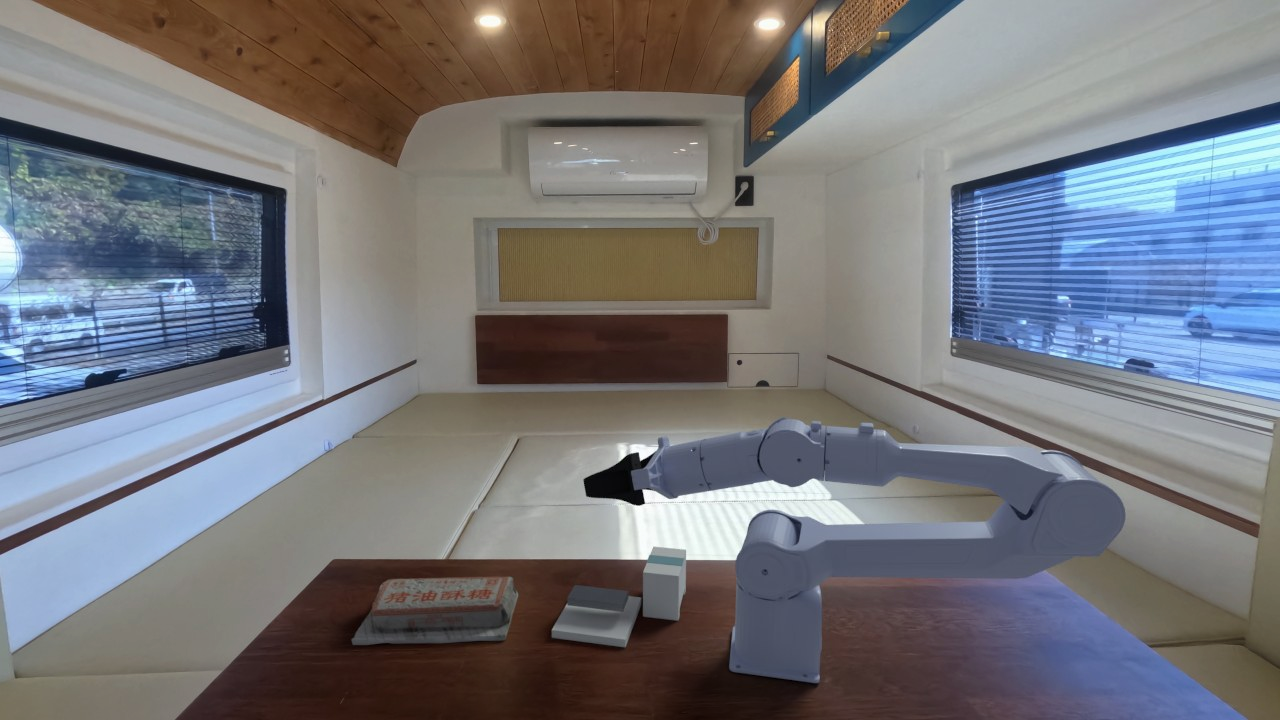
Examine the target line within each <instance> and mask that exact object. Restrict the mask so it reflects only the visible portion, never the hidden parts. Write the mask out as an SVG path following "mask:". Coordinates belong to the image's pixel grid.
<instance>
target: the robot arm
mask: <svg viewBox="0 0 1280 720" xmlns="http://www.w3.org/2000/svg"><path fill="white" fill-rule="evenodd" d="M874 427H875V426H874V423H873V422H860V423H859V427H847V426H833V425H822V421H820V420H812V421H811V422H810V425H808V424H805V423H804V421H801V420H799V419H793V418H787V417H786V416H783V417H780V418H778V419H776V420H774V421H773V422H772V423H771V424H770V425H769V426H768V427H767V428H762V429H756V430H754V429H753V430H750V431H741V432H735V433H729V434H726V435H725V434H724V435H720V436H719V435H718V436H715V437H714V436H713V437H709V438H703V439H698V440H694V441H689V442H683V443H679V444H677V443H676V444H673V445H671V443H670V439H669V437H668V436H661V437H658V438H657V446H658V447H657V449H656V450H655V451H654V452H653V453H651V454H650V455H649V456H647V457H645V458H643V459H641V457H640V453H639V451H638V452H637V451H636V452H632V453H629V454H627V455H626V456H624V457H623V458H621V460H620V461H618V462H616V463H615V464H613V465H612V466H610V467H608V468H605V469H603V470H601V471H598V472H596V473H593V474H591V475H588V476H586V477H584V478H583V480H582V481H583V487H584V491H585V496H586V498H592V499H609V500H611V499H613V500H619V501H622V502H625V503H628V504H631V505H633V506H637V507H638V506H639V507H640V506H643V505H645V504H646V500H645V497H644V490H645V491H653V492H656V493H658V494H659V495H662V496H663V497H664V498H666V499H668V500H673V499H677V498H679V497H680V496H687V495H693V494H699V493H705V492H712V491H718V490H719V491H720V490H724V489H730V488H737V487H743V486H744V487H745V486H748V485H749V486H750V485H755V484H757V483H763V482H769V481H773V482H775V483H777V484H780V485H785V486H786V487H789V488H796V487H800V486H803V485H804V484H807V482H809V481H810V480H812V479H814V480H816V481H818V482H820V481H821V482H832V483H840V484H848V485H849V484H851V485H860V486H870V487H871V486H872V487H879V488H881V487H885V486H886V485H888V484H889V483H891V482H892V481H893V480H895V479H896V478H898V477H902V478H909V479H915V480H924V481H931V482H938V483H944V484H945V483H946V484H952V485H958V486H959V485H960V486H968V487H974V488H981V489H985V490H986V489H987V490H990V491H991V492H993V494H995V495H997V496H998V497H999V498H1001V499H1002V500H1004V501H1003V502H1002V503H1001V504H1000V505H999V506H998V507H997V509H996V510H995V512H994V513H993V514H992V515H991V516H990V518H988V520H985V521H959V522H958V521H957V522H956V521H955V522H953V521H952V522H951V521H950V522H944V521H943V522H904V523H901V522H899V523H893V522H892V523H855V524H854V523H851V524H848V523H847V524H842V523H841V524H825V523H823V522H820V521H819V520H816V519H814V518H812V517H810V516H795V515H792V514H789V513H788V512H785V511H782V510H779V509H766V510H761V511H759V512H758V513H757V514H755V515H754V516H753V517H752V518H751V519H750V521H749V524H748V526H747V530H746V531H747V532H746V535H745V539H744V541H743V544H742V546H741V549H740V550H739V552H738V553H737V556H736V559H735V565H734V568H735V569H734V570H735V574H736V581H735V582H736V585H735V618H734V619H735V622H734V623H735V625H734V626H732V633H731V641H730V642H731V643H730V655H729V665H728V668H729V670H730V671H731V672H732V673H739V674H744V675H745V674H746V675H751V676H752V675H755V676H761V677H768V678H776V679H783V680H789V681H790V680H792V681H797V682H805V683H810V684H811V683H812V684H818V683H820V667H821V652H822V650H823V649H822V647H823V646H822V645H823V639H822V638H823V637H822V627H823V605H822V602H823V601H822V591H821V587H820V585H821V584H822V583H824V581H826V580H829V578H882V579H883V578H886V579H887V578H893V579H894V578H897V579H898V578H900V579H902V578H903V579H905V578H906V579H908V578H909V579H912V578H913V579H987V580H988V579H997V580H998V579H999V580H1001V579H1003V580H1005V579H1006V580H1007V579H1008V580H1010V579H1011V580H1016V579H1026V578H1029V577H1032V576H1034V575H1037V574H1039V573H1042V572H1043V571H1046V570H1048V569H1050V568H1053V567H1055V566H1059V564H1062V563H1064V562H1067V561H1070V560H1072V559H1074V558H1077V557H1078V558H1079V557H1080V558H1081V557H1085V558H1086V557H1087V558H1088V557H1090V558H1091V557H1100V556H1101V555H1102V554H1103V553H1104V552H1105V551H1106V550H1107V548H1108V547H1109V546H1110V545H1111V543H1112V542H1113V541H1114V540H1115V539H1116V538H1117V536H1119V534H1120V533H1121V531H1122V530H1123V528H1124V526H1125V522H1126V509H1125V508H1126V507H1125V505H1124V503H1123V500H1122V499H1121V497H1120V496H1119V494H1118V493H1117V492H1116V491H1115V490H1114V489H1113V488H1111V487H1109V485H1106V484H1105V483H1103V482H1102V481H1099V480H1098V479H1097V478H1096V477H1095V476H1094V475H1092V474H1091V473H1090V472H1089V471H1088V470H1087V469H1085V467H1084V466H1083V464H1082V463H1081V462H1080V461H1079V460H1078V459H1077V458H1075V457H1074V456H1072V455H1070V454H1068V453H1066V452H1064V451H1061V450H1060V451H1059V450H1056V449H1055V450H1054V449H1046V450H1045V449H1043V450H1038V449H1037V448H1035V447H1030V446H1029V447H1028V446H1024V445H1013V446H1012V445H1010V446H1009V445H1008V446H995V445H993V446H992V445H970V444H969V445H965V444H962V445H961V444H940V443H939V444H936V443H932V444H931V443H905V442H903V443H901V442H898V441H897V440H895V439H894V438H893V437H892V436H891V435H890V434H889V433H888V432H887V431H886V430H885V429H875V428H874Z"/></svg>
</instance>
